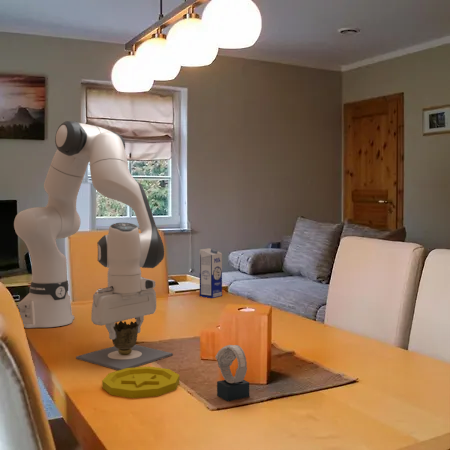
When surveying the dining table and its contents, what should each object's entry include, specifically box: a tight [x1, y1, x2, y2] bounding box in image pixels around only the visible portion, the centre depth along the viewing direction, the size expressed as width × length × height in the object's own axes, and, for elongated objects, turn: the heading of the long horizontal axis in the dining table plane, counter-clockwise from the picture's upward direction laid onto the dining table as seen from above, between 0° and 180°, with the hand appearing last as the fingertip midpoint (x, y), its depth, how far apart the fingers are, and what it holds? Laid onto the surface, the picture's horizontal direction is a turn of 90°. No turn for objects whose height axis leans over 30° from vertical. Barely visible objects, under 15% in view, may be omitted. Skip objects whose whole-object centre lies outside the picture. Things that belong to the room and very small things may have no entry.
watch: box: [214, 344, 250, 402], centre depth 128 cm, size 6×8×11 cm
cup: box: [111, 320, 139, 355], centre depth 159 cm, size 8×7×8 cm
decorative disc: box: [101, 365, 180, 399], centre depth 136 cm, size 17×18×2 cm
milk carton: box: [199, 247, 223, 299], centre depth 249 cm, size 7×7×20 cm
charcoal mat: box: [75, 344, 174, 371], centre depth 159 cm, size 18×18×1 cm
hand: (125, 335), depth 159 cm, fingers closed on cup, 7 cm apart
